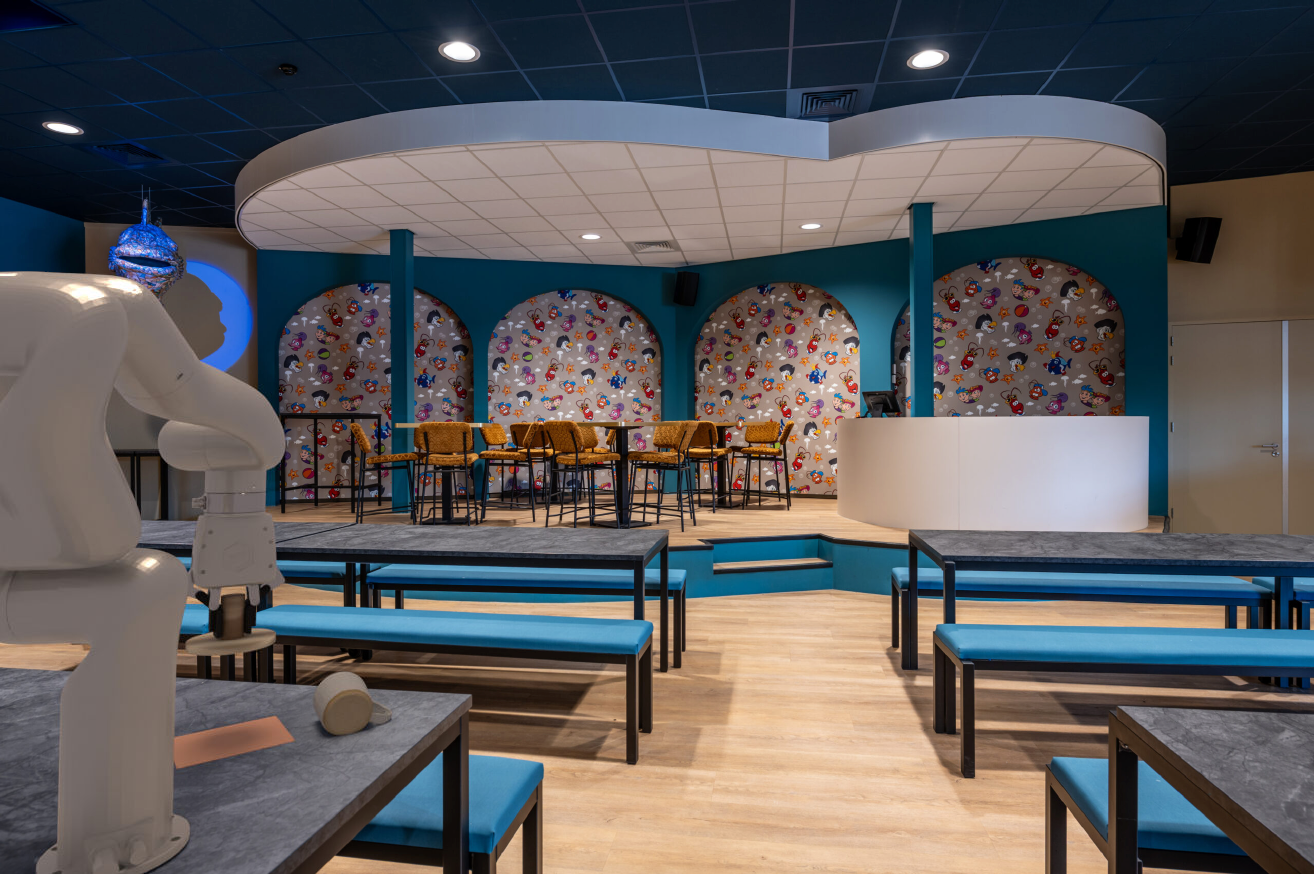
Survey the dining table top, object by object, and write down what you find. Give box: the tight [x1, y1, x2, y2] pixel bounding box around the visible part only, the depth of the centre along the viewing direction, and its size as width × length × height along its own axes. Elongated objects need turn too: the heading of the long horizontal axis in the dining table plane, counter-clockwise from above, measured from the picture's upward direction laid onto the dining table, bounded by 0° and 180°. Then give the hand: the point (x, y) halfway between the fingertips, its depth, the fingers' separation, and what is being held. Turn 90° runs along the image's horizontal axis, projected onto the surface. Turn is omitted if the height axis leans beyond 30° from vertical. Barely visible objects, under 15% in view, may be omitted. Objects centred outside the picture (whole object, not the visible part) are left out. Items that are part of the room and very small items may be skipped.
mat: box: [174, 715, 296, 770], centre depth 100 cm, size 12×14×1 cm
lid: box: [184, 592, 277, 657], centre depth 100 cm, size 11×11×7 cm
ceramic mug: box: [312, 671, 393, 736], centre depth 107 cm, size 11×8×8 cm
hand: (232, 633), depth 100 cm, fingers closed on lid, 3 cm apart
